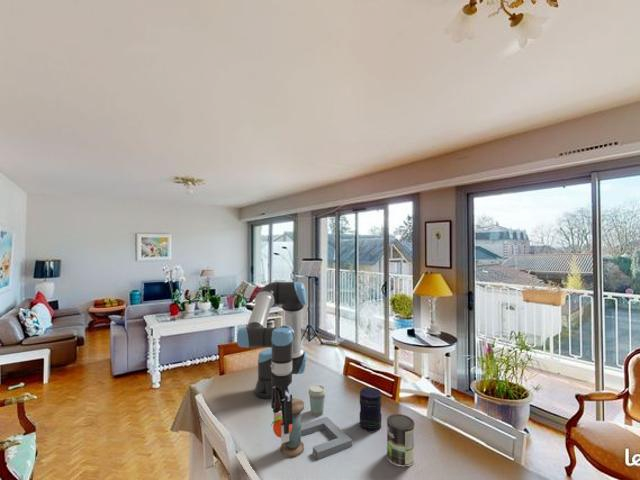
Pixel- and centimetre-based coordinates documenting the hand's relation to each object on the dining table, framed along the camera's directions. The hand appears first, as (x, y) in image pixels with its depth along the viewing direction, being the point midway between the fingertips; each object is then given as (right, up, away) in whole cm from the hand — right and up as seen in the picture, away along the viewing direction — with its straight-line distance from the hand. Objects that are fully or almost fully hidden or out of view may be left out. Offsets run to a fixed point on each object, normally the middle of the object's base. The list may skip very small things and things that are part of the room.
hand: (281, 435), depth 113 cm
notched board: (+15, -13, +18) cm, 27 cm away
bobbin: (+3, -13, +11) cm, 17 cm away
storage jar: (+37, -13, +28) cm, 49 cm away
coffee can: (+45, -13, +7) cm, 47 cm away
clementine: (0, -1, 0) cm, 1 cm away
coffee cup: (+13, -13, +39) cm, 43 cm away
